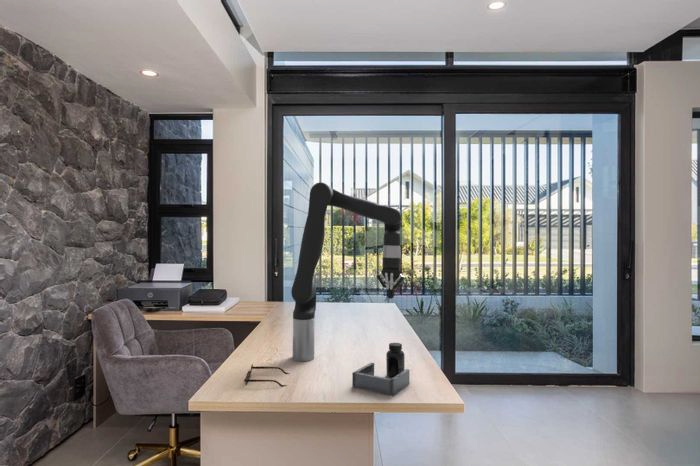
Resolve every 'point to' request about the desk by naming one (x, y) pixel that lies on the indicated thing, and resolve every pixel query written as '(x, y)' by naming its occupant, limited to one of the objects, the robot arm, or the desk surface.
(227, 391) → the desk surface
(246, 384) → the eyeglasses
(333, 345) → the desk surface
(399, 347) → the supplement bottle
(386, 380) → the bracket
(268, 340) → the desk surface
